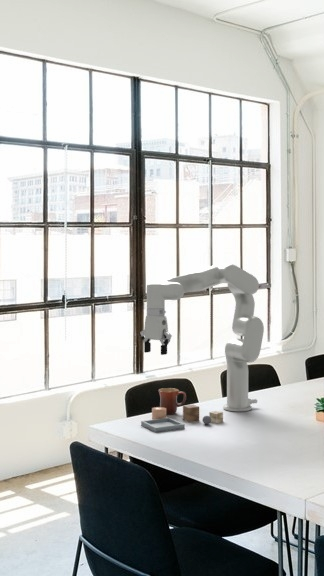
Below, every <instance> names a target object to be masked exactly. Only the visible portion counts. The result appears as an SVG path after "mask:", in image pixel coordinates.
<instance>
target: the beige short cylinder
mask: <svg viewBox="0 0 324 576" xmlns="http://www.w3.org/2000/svg"><path fill="white" fill-rule="evenodd" d="M162 418H167V415H166V408H164V407H160V406H156V407H155V406H154V407H151V420H154V419H162Z"/></svg>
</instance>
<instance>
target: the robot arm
mask: <svg viewBox="0 0 324 576" xmlns="http://www.w3.org/2000/svg"><path fill="white" fill-rule="evenodd" d="M259 283H260V282H259V280H258V279H257V277H256V276H254V275H252V274H251V273H249V272H248V271H245V269H243V268H241V267H239V266H237V265H236V264H232V263H218V264H214V265H211V266H208V267H205V268H202V269H200V270H197V271H194V272H189V273H187V274H182V275H178V276H175V277H174V276H173V277H172V278H169V279H165V280H163V281H160V282H150V283H149V282H148V284H147V285H146V315H145V320H144V329H143V330H141V331H140V332H139V333H140V336H141V340H142V342H143V345H144V346H143V349H144V350H143V351H144V353H150V352H151V350H152V348H151V346H152V343H151V340H152V341H153V340H154V341H159V342H160V343H161V345H160V355H161V356H163V355H164V356H165V355H167V354H168V346H169V343H170V342H171V339H172V337H173V335H172V334H171V333H170V332H169V327H168V326H169V325H168V319H167V316H166V315H165V314H166V313H167V311H166V310H165V309H166V307H165V302H166V301H165V300H170V301H176V300H177V301H178V300H180V299H181V298H183V297H184V295H185V293H189V292H191V293H192V292H200V291H201V292H202V291H204V290H207V289H210V288H212V287H215V286H218V285H221V284H227V288H228V290H229V291H230V293H231V294H232V295H233V297H234V300H235V307H234V308H235V309H234V315H233V319H232V325H231V326H232V327H231V328H232V330H231V331H232V332H233V333H234V334H235V335H237V336H240V337H243V339H242V338H237V337H236V338H231V339H229V340H228V341H227V342H226V344H225V346H224V355H225V360H226V404H224V405H222V406H223V407H222V408H223V410H225V411H228V412H240V413H241V412H248V411H251V410H252V406H251V405H252V404H257V403H258V399H257V398H254V399H253V398H250V397H249V366H248V365H249V364H248V363H250V364H251V363H255V362H256V361H257V359H259V356H260V353H261V349H262V345H263V344H262V343H263V338H264V332H265V328H264V323H263V321H262V319H261V318H260V317H259V316H255V314H254V313H255V303H256V302H255V298H254V296H253V295H255V294H256V293H257V292H258V291H259V286H260V285H259Z"/></svg>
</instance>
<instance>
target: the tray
mask: <svg viewBox="0 0 324 576" xmlns="http://www.w3.org/2000/svg"><path fill="white" fill-rule="evenodd" d="M140 421H141V422H140V423H141V426H142V427H144V428H146V429H148V430H149V431H151V432H153V433H162V432H171V431H176V430H184V429H185V423H183V422H180V421H178V420H176V419H174V418H171V417H166V418H162V419H154V420H152V419H146V420H140Z"/></svg>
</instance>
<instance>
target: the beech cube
mask: <svg viewBox="0 0 324 576" xmlns="http://www.w3.org/2000/svg"><path fill="white" fill-rule="evenodd" d="M208 416H209V417H210V418H211V423H214V424H219V423H222V422H224V412H222V411H218V410H214V411H210V412H209V413H208Z"/></svg>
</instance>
